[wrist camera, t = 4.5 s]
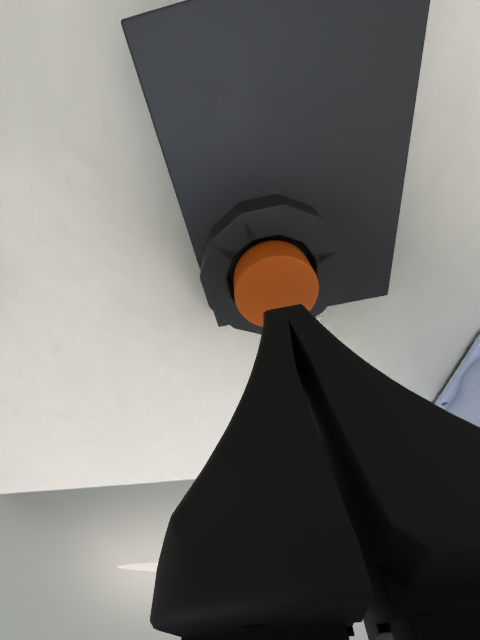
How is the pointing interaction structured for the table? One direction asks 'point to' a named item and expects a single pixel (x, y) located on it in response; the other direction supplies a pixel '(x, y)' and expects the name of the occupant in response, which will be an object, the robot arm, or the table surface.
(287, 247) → the round orange button cap
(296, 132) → the orange button switch
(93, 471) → the table surface
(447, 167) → the table surface
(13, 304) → the table surface
